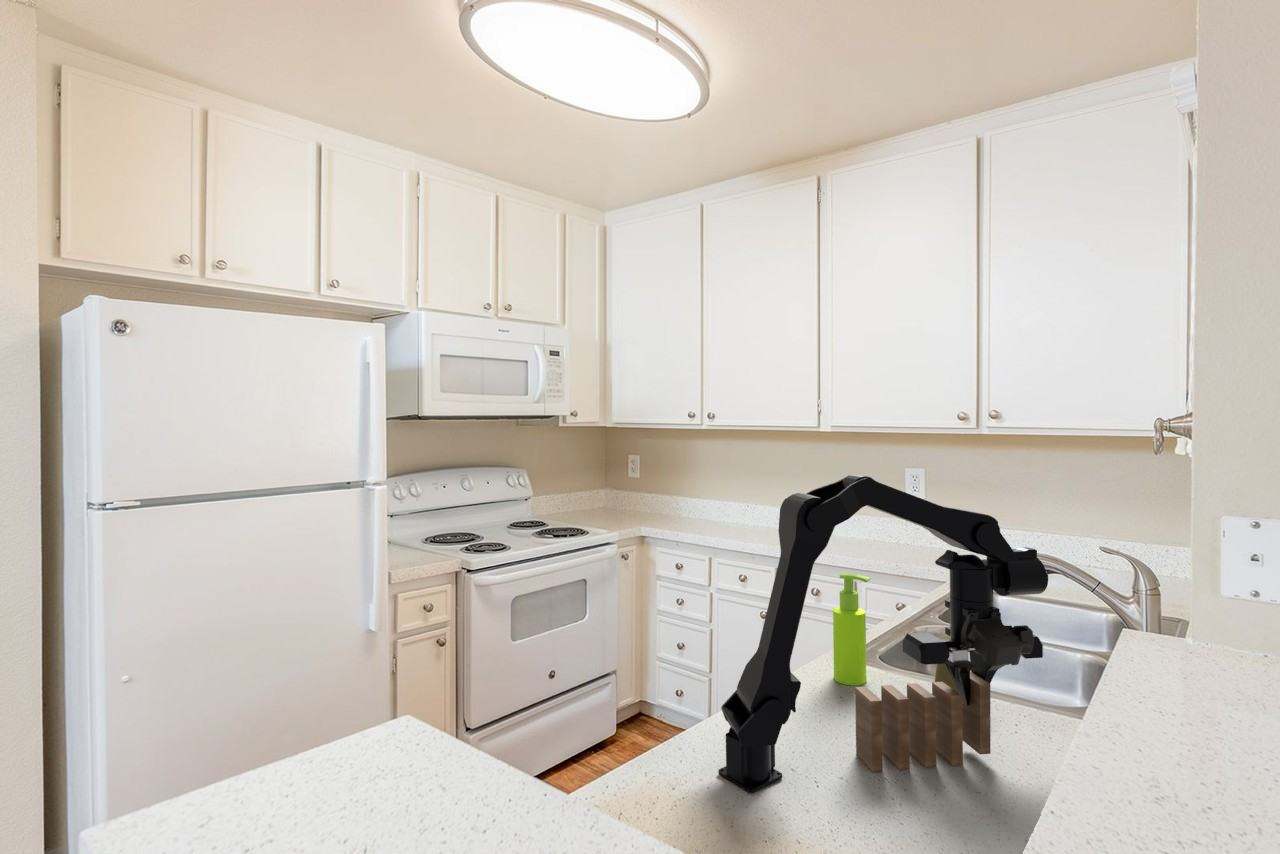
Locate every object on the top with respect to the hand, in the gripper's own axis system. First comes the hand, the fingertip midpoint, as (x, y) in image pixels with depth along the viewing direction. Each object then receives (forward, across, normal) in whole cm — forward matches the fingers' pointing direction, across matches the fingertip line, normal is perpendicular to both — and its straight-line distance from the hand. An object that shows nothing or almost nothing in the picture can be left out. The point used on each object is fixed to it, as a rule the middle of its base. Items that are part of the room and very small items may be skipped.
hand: (972, 703), depth 98 cm
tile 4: (+8, -4, 0) cm, 8 cm away
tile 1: (+8, -16, 0) cm, 18 cm away
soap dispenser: (+8, -5, +29) cm, 31 cm away
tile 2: (+8, -12, 0) cm, 14 cm away
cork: (+8, +8, +18) cm, 22 cm away
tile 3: (+8, -8, 0) cm, 11 cm away
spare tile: (+6, 0, 0) cm, 6 cm away
